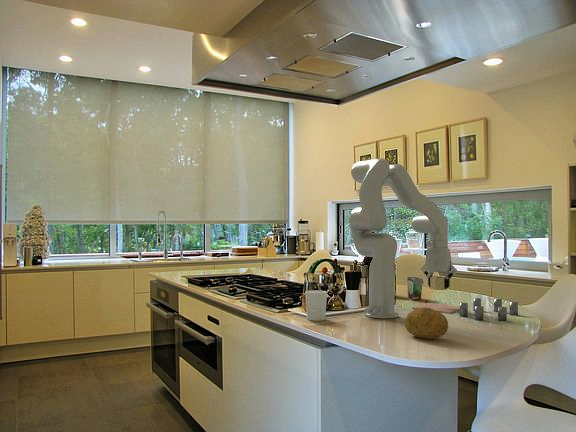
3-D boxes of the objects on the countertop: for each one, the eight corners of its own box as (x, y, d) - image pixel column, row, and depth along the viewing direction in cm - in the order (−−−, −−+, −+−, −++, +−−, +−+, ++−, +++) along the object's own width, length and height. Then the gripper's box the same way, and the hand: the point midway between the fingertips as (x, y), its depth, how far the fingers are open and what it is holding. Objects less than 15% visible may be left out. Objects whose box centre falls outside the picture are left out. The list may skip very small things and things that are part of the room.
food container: (426, 301, 219) (426, 279, 219) (413, 301, 219) (413, 279, 219) (419, 297, 231) (420, 276, 232) (407, 297, 231) (407, 276, 232)
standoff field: (502, 323, 169) (502, 309, 169) (454, 317, 179) (454, 304, 179) (521, 313, 189) (521, 300, 190) (477, 308, 200) (477, 296, 200)
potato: (415, 303, 154) (400, 304, 147) (455, 311, 144) (441, 311, 138) (412, 333, 153) (397, 334, 146) (452, 342, 144) (438, 344, 137)
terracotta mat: (450, 313, 188) (450, 312, 188) (412, 308, 198) (412, 307, 198) (464, 308, 200) (464, 307, 200) (427, 304, 210) (427, 302, 210)
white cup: (329, 318, 176) (329, 291, 176) (322, 322, 169) (322, 293, 169) (310, 316, 179) (310, 289, 179) (301, 320, 172) (302, 292, 172)
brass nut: (442, 290, 195) (442, 278, 195) (428, 289, 199) (428, 277, 199) (449, 288, 200) (448, 276, 200) (435, 287, 204) (435, 275, 204)
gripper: (415, 244, 202) (415, 287, 202) (455, 245, 191) (456, 290, 191) (422, 244, 208) (422, 285, 208) (462, 245, 197) (462, 288, 197)
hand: (438, 287), depth 200 cm, fingers closed on brass nut, 6 cm apart
